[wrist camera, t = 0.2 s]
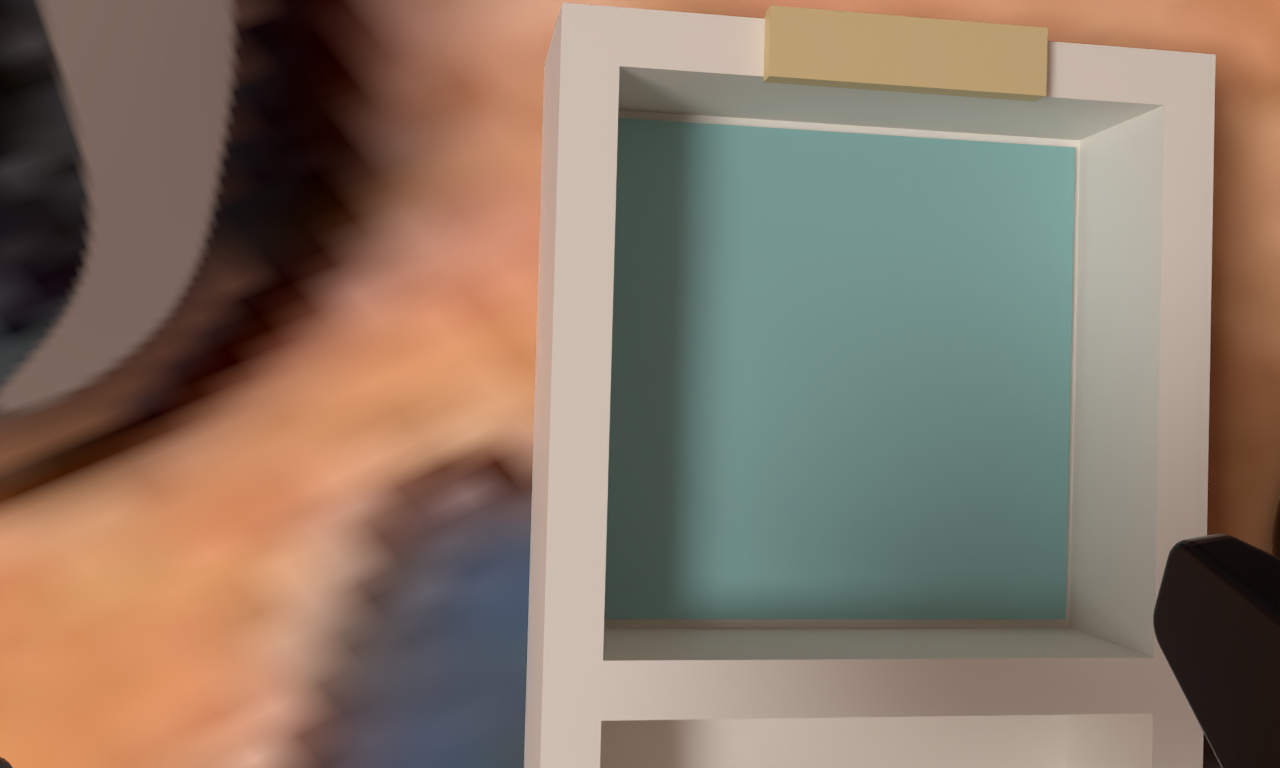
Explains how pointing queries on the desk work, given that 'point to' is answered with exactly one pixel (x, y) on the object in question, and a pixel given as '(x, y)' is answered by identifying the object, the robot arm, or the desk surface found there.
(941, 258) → the tray
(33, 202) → the desk surface
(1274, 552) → the supplement bottle
